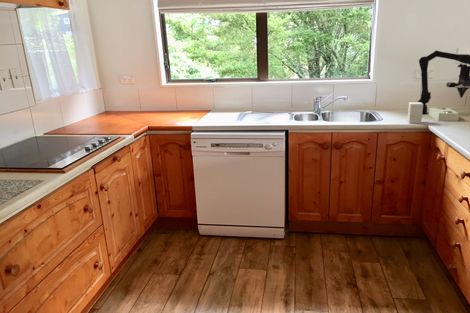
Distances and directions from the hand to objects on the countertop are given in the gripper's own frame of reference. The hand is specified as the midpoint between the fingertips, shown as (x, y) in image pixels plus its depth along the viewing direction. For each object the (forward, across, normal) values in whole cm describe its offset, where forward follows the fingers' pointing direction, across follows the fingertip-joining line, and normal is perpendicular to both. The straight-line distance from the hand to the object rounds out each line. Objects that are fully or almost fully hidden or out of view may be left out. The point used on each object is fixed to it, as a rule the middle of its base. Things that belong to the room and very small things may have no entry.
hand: (461, 97), depth 247 cm
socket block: (+12, -12, -7) cm, 19 cm away
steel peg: (+12, -11, -13) cm, 21 cm away
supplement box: (+13, -34, -22) cm, 42 cm away
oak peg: (+12, -11, -1) cm, 16 cm away
